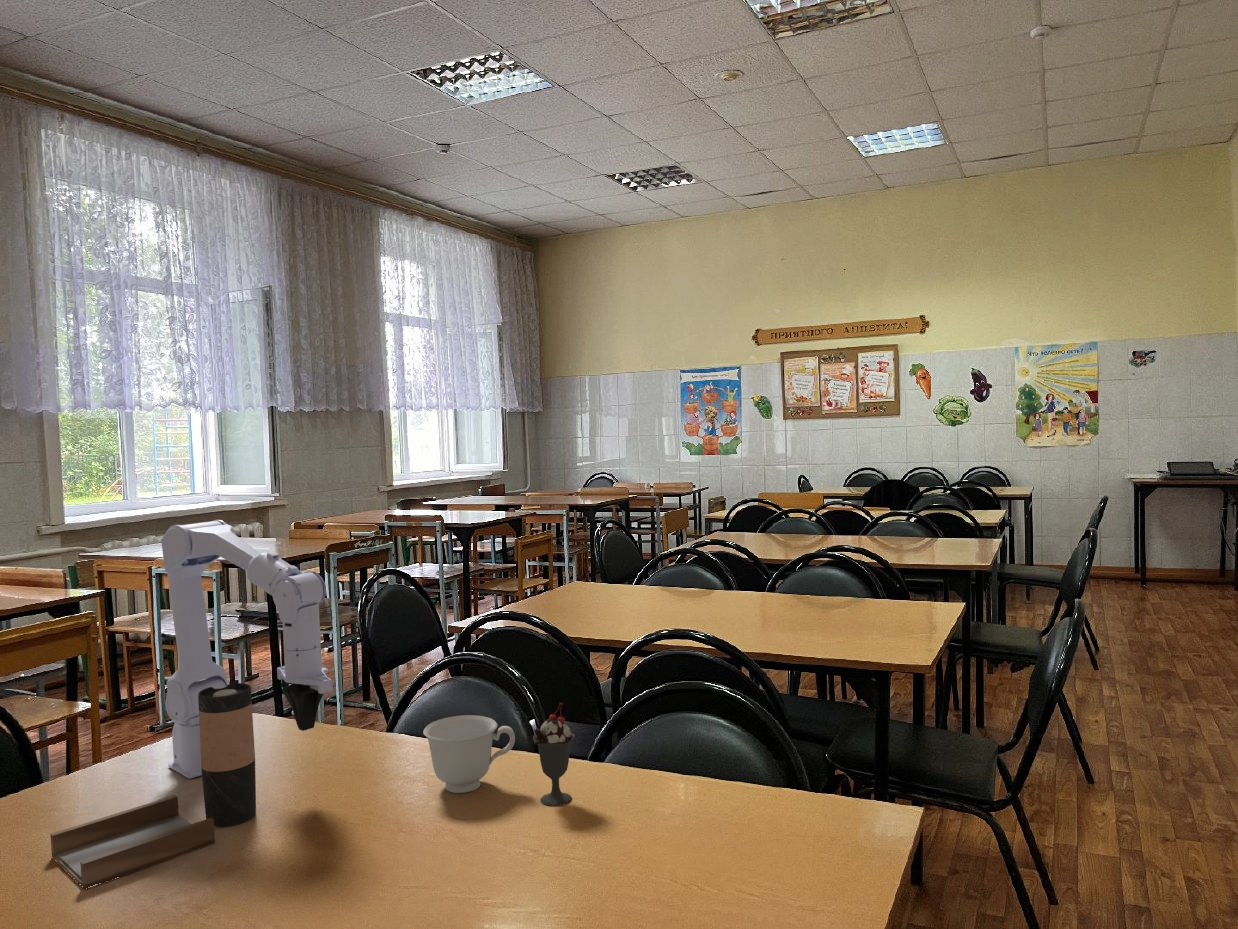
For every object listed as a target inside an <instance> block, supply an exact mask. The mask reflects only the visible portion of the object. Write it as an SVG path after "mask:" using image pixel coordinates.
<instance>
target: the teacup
mask: <svg viewBox="0 0 1238 929" xmlns="http://www.w3.org/2000/svg"><path fill="white" fill-rule="evenodd" d="M497 728H498V723H497V722H496V720H494V719H493V718H491V717H487V716H483V715H476V714H475V715H473V714H469V715H467V714H464V715H454V716H449V717H444V718H441V719H438V720H435V721H432V722H430V723H429V724H428V725H426V727H425V728H424V729H423V732H422V733H423V735H424V736H425V737H426V738H427V741H428V745H429V750H430V755H431V757H430V758H431V763H432V768H433V771H434V774H435V776H436V778H437V779H438V780H440V781H441V782H443V783H445V790H446V791H447V792H449V793H452V794H464V793H466V794H467V793H470V792H473V791H475V790H477V789H479V787H480V786H481V781H480V780H481V779H483V778H484V777H485V776H486V774H487V773H488V771H489V769H490V766H491V764H492V763H493V762H494V760H495V759H496V758H498V757H500V756H503V755H505V754H507V753H508V752H510V751H511V750H512V749H513V747H514V745H515V742H516V737H515V732H514V730H513V728H512V727H511V726H508V725H501V726H500V727H499V728H498V729H497ZM496 729H497V731H496ZM495 731H496V733H495ZM501 734H507V735H508V736H509V742H508V743H507V744H506V746H505V747H502V748H500V749H498V750H497V751H496V752H495V753H493V754H492V750H493V740H495V741H496V742H497V741H499V739H500V737H501Z"/></svg>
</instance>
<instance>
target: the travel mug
mask: <svg viewBox="0 0 1238 929" xmlns="http://www.w3.org/2000/svg"><path fill="white" fill-rule="evenodd" d="M251 687H252V686H251V684H248V683H244V682H231V683H229V684H228V685H227V686H226V687H224V688H220V689H215V688H213V687H209V688H206V689H203V690H202V691H200V692H199V694H198V704H199V727H200V750H201V770H202V775H201V779H202V790H203V803H204V814H205V820H206V819H209V818H212V819H214V828H228V827H233V826H238V825H241V824H244V823H246V822H248V821H250V820H252V819H253V818H254V817H255V815H256V813H257V796H256V795H257V790H256V789H257V788H256V786H257V785H256V784H257V783H256V778H257V777H256V750H255V733H254V732H255V731H254V717H253V704H252V688H251Z"/></svg>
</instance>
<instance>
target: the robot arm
mask: <svg viewBox="0 0 1238 929" xmlns="http://www.w3.org/2000/svg"><path fill="white" fill-rule="evenodd" d="M160 542H161V549H162V550H161V551H162V556H163V564H164V571H165V572H166V573H167V581H168V582H167V583H168V588H169V596H170V603H171V611H172V612H171V613H172V619H173V625H174V626H173V628H174V635H175V641H176V642H175V643H176V651H177V657H178V666H179V667H178V668H177V669H176V671H175V672H174V673H173V674H172V675H171V676H170V677H169V678H168V679H167V681H166V689H167V690H166V697H165V702H164V704H165V710H166V713H167V715H168V717H169V718H170V719H171V720H172V721H173V723H174V725H173V728H172V730H171V736H172V737H171V739H172V755H173V762H170V763H168V766H167V767H169V768H170V769H172V770H173V771H175V772H177V773H178V774H180V775H182V776H183V777H185V778H187V779H190V780H191V779H194V778H197V777H198V778H199V777H202V770H201V750H200V727H199V704H198V694H199V692H200V691H202V690H203V689H206V688H209V687H213V688H215V689H220V688H224V687H226V686H227V685H228V684H230V682H229V679H228V676H227V673H226V669H225V667H223V666H221V665H219V664H218V663H216V662H215V661H213V656H212V648H211V647H212V646H211V641H210V634H209V627H208V626H209V624H208V618H207V611H206V602H205V595H204V586H203V580H202V575H203V573H204V572H205V571H206V570H207V568H208V566H210V565H212V564H213V563H214V562H216V561H217V560H218V559H220V558H222V559H224V560H226V561H228V562H229V563H231V564H232V565H235V566H236V567H238V568H241V569H243V570H245V571H246V572H247V573H246V575H247V578H248V580H249V582H251V583H252V584H254V585H255V586H256V587H258V588H259V589H261V590H262V591H264V592H266V593H267V594H269V595H270V596H272V600H273V602H274V604H275V605H274V606H276V609H277V610H278V619H279V620H280V623H282V635H283V654H284V655H283V657H284V658H283V659H284V665H283V666H279V667H277V668H276V674H277V675H276V677H277V680H283V681H284V682H285V683H288V684H290V685H289V686H286V687H284V688H282V692H283V695H284V696H285V697H286V699H287V701H288V702H289V705H290V707H291V709H292V712H293V715H294V718H295V722H296V725H297V728H298V730H300V731H302V732H305V731H308V730H312V729H315V728H314V727H315V724H316V720H317V714H318V710H319V707H320V706H319V705H320V704H321V700H322V698H323V696H324V695H325V694H327V693H330V692H333V680H332V679H331V678H329V677H328V676H327V674H328V673H329V668H327V667H323V666H322V664H323V663H322V648H321V645H322V644H321V642H322V641H321V625H320V624H321V623H320V605H321V604H322V603H323V602H324V600H325V598H326V594H327V589H326V588H327V586H326V582H325V580H324V579H323V578H322V576H321V575H320V574H319V573H318V572H317V571H315V570H309V571H308V570H307V571H304V570H300V569H299V567H297V566H295V565H291V564H290V563H289V562H287V561H285V560H284V559H282V558H280V554H279V553H277V552H276V551H273V552H267V551H266V552H262V553H260V552H258V551H257V550H256V549H254V548H253V547H252V545H249V544H248V543H247V542H245V541H244V540H243V539H242V538H240V537H239V536H238V535H237V534H235V531H234V528H233V526H232V525H230V524H227V523H226V522H225V521H223V520H222V519H214V520H212V521H204V522H195V523H188V524H173V525H171V526H170V527H169V528H168V529H167V530H166V532H164V535H163V536H162V538H161V539H160Z"/></svg>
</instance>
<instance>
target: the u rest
mask: <svg viewBox="0 0 1238 929" xmlns="http://www.w3.org/2000/svg"><path fill="white" fill-rule="evenodd" d="M179 810H180V809H179V796H178V795H176V794H174V795H171V796H168V797H165V798H162V799H157V800H155V801H152V802H149V803H145V804H143V805H139V806H136V807H132V808H130V809H126V810H123V811H119V812H116V813H113V814H110V815H108V816H107V815H106V816H104V817H100V818H97V819H94V820H91V821H87V822H83V823H81V824H78V825H74V826H72V827H68V828H65V829H62V830H61V829H60V830H59V831H56V832H51V833H50V848H51V849H50V850H51V858H52V857H53V859H55V860H56V861H57V863H58V864H59V865H61V866H62V867H63V868H64V869H65V870H66V871H67V872H68V873H69V874H70V875H71V876H72V877H73V878H75V880H76V881H77V882H78V883H79V884H81V886H83V888H84V889H86V888H88V887H90V886H93V885H95V884H99V883H103V884H105V883H104V882H106V881H109V882H111V881H110V880H112V879H114V880H116V879H115V878H117V877H120V878H122V876H123V877H126V876H127V875H128V876H129V875H131V874H134V873H137V872H139V871H143V870H144V869H147V868H150V867H153V866H156V865H159V864H162V863H163V862H168V861H170V860H172V859H176V858H178V857H180V856H183V855H186V854H189V853H193V852H195V851H198V850H201V849H204V848H206V847H209V846H211V845H215V844H216V836H215V827H214V819H212V818H209V819H206V818H205V819H203V820H200V821H197V822H194V823H192V822H190V821H189V820H187V819H185V818H184V817H183V816H181V815H180V812H179ZM53 859H52V860H53ZM57 863H56V864H57ZM59 865H58V866H59ZM64 869H63V870H64ZM65 870H64V871H65ZM66 871H65V872H66ZM67 872H66V873H67ZM68 873H67V874H68ZM69 874H68V875H69ZM70 875H69V876H70ZM125 875H126V876H125ZM71 876H70V877H71ZM72 877H71V878H72ZM73 878H72V879H73ZM117 879H118V878H117ZM75 880H74V881H75ZM76 881H75V882H76ZM112 881H113V880H112ZM77 882H76V883H77ZM78 883H77V884H78ZM106 883H107V882H106ZM79 884H78V885H79ZM81 886H80V887H81ZM83 888H82V889H83ZM84 889H83V890H84Z"/></svg>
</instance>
